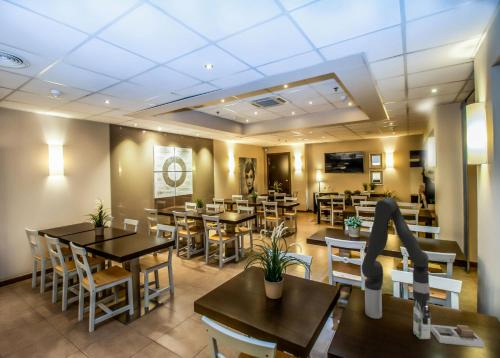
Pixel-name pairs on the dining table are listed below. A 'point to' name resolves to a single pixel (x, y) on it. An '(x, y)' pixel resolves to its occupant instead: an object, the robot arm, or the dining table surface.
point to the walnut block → (465, 331)
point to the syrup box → (420, 325)
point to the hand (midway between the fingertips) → (421, 319)
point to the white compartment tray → (454, 336)
